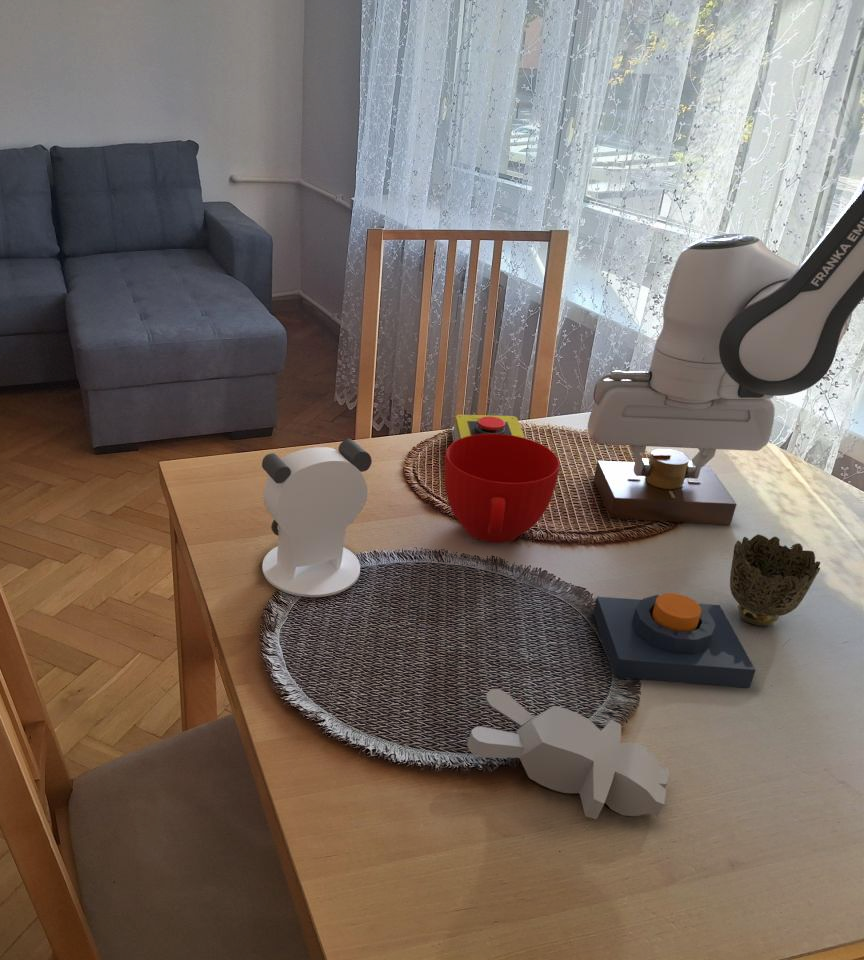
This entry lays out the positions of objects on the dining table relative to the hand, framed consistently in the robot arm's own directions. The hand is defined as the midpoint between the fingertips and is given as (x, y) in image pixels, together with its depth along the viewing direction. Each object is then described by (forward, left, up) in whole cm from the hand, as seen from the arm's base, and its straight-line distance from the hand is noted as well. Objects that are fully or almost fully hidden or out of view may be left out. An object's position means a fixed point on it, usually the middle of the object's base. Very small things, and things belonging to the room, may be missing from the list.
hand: (665, 475), depth 109 cm
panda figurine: (+43, +20, -4) cm, 48 cm away
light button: (+7, +30, 0) cm, 31 cm away
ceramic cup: (+22, +11, -4) cm, 25 cm away
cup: (-3, +24, -4) cm, 24 cm away
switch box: (+7, +30, -4) cm, 31 cm away
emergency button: (+20, -12, -4) cm, 24 cm away
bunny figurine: (+20, +48, -4) cm, 52 cm away
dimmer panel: (0, 0, -4) cm, 4 cm away
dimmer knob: (0, 0, -1) cm, 1 cm away
